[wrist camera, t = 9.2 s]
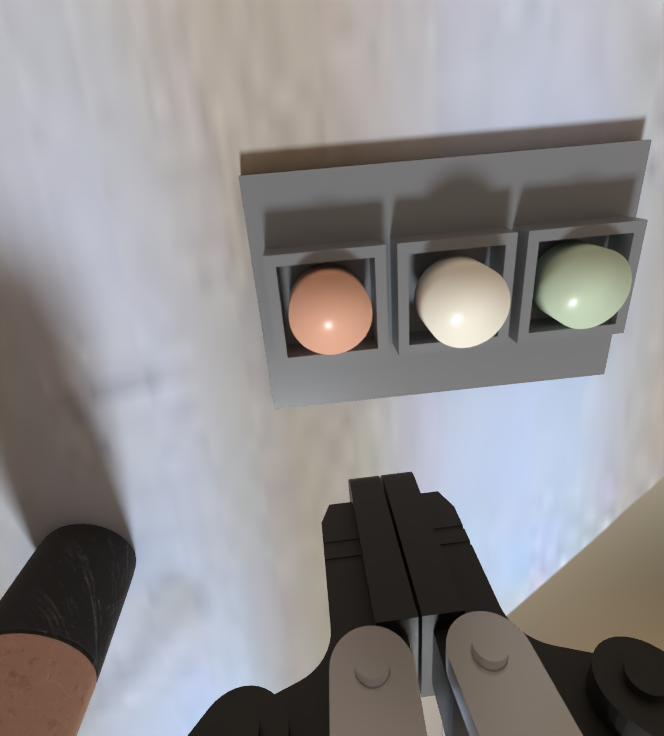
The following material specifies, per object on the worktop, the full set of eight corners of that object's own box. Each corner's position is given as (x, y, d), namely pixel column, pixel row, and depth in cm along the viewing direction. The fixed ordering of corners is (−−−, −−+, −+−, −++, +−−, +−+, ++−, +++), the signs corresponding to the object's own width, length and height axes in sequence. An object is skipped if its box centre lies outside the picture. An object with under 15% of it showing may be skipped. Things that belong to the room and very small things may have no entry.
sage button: (533, 243, 25) (556, 252, 23) (609, 236, 26) (639, 244, 23) (524, 318, 27) (545, 332, 25) (595, 311, 27) (623, 324, 25)
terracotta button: (284, 267, 25) (283, 278, 23) (363, 260, 25) (370, 270, 23) (293, 341, 27) (293, 358, 25) (367, 334, 27) (374, 350, 25)
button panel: (240, 175, 24) (233, 177, 22) (638, 140, 25) (680, 138, 22) (275, 401, 30) (273, 425, 28) (594, 367, 31) (623, 387, 28)
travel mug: (104, 507, 33) (-125, 935, 15) (158, 575, 36) (24, 993, 18) (13, 540, 34) (-314, 989, 16) (74, 604, 37) (-138, 1036, 19)
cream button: (414, 259, 24) (426, 269, 22) (494, 251, 25) (514, 261, 22) (413, 335, 26) (425, 351, 24) (488, 327, 26) (506, 343, 24)
